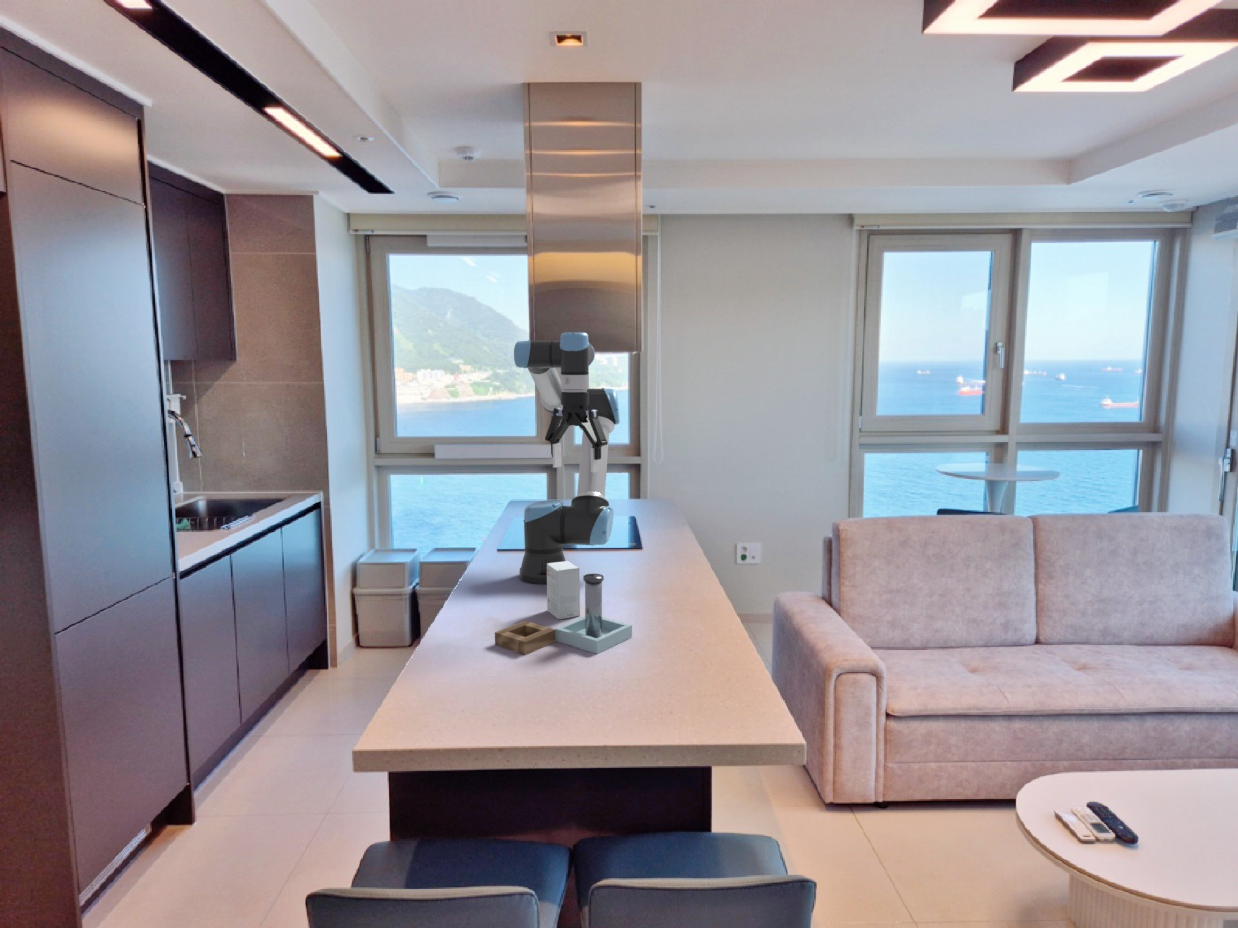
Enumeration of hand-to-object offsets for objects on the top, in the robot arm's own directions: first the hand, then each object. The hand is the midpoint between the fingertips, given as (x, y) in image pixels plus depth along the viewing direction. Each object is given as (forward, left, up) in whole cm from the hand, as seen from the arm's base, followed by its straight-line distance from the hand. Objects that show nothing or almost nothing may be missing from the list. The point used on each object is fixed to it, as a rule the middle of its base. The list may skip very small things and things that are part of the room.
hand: (575, 469), depth 205 cm
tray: (+23, -20, -37) cm, 48 cm away
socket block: (+12, -32, -37) cm, 50 cm away
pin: (+23, -20, -36) cm, 47 cm away
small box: (+5, -11, -37) cm, 39 cm away
